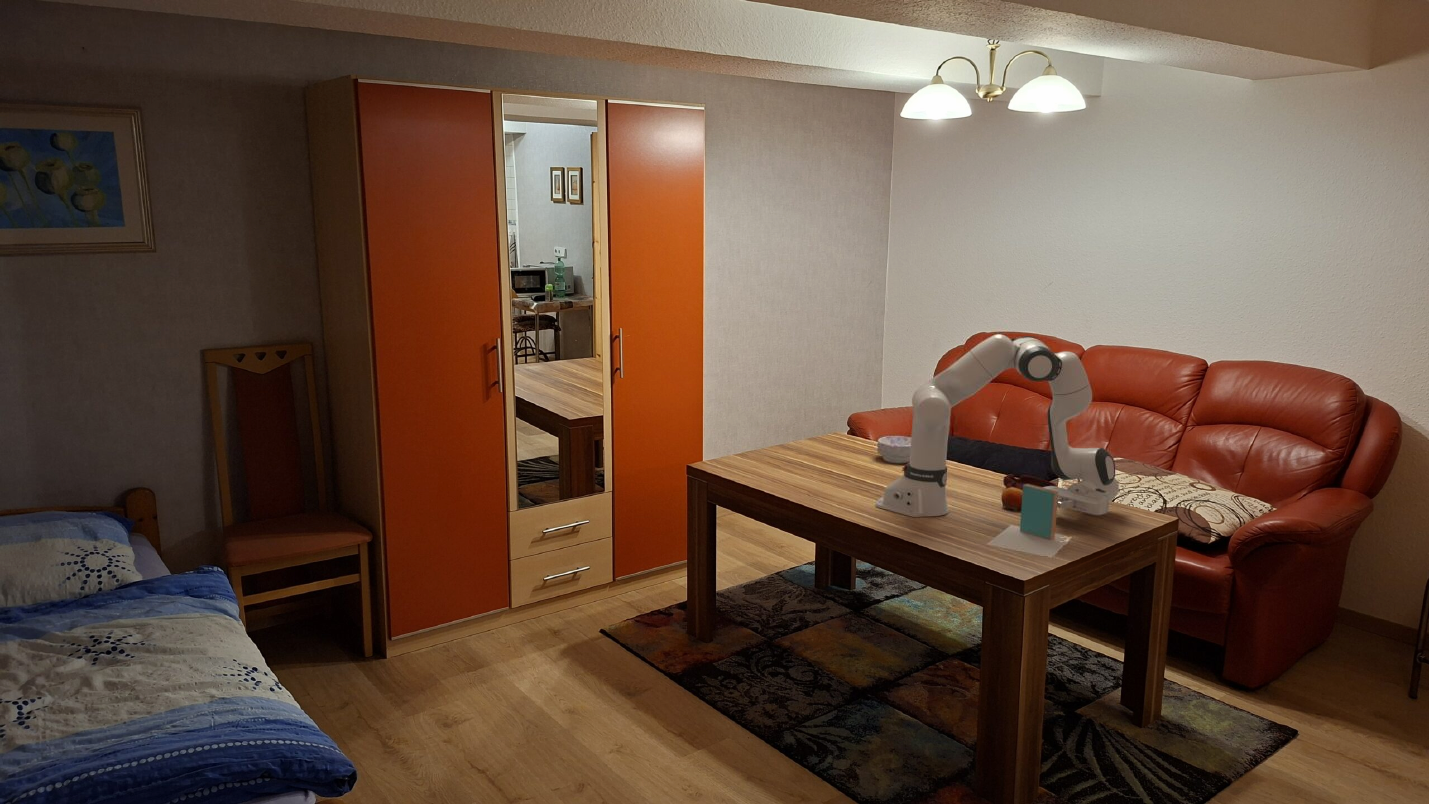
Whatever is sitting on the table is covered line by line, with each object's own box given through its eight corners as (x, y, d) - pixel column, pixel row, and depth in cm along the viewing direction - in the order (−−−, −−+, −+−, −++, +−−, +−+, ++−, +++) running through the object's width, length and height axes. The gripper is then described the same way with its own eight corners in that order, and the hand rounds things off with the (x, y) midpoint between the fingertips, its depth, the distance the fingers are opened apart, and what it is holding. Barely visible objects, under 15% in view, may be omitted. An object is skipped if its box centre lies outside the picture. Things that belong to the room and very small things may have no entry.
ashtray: (1059, 506, 305) (1060, 491, 304) (1006, 502, 309) (1007, 487, 308) (1051, 490, 322) (1053, 476, 321) (1001, 487, 326) (1002, 473, 325)
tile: (1050, 540, 271) (1053, 493, 268) (1019, 531, 279) (1022, 485, 276) (1054, 538, 272) (1058, 491, 270) (1023, 529, 280) (1027, 483, 277)
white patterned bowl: (879, 465, 352) (880, 444, 350) (874, 455, 367) (875, 435, 365) (921, 466, 351) (922, 445, 350) (914, 455, 366) (915, 435, 364)
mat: (986, 545, 268) (986, 544, 268) (1011, 526, 284) (1011, 524, 284) (1051, 559, 257) (1051, 557, 257) (1073, 538, 274) (1073, 536, 274)
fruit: (995, 506, 298) (1001, 482, 300) (1001, 513, 305) (1006, 490, 307) (1021, 511, 294) (1026, 486, 296) (1026, 518, 300) (1032, 494, 302)
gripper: (1051, 478, 296) (1026, 486, 288) (1114, 494, 281) (1090, 502, 272) (1050, 498, 298) (1025, 506, 289) (1112, 514, 282) (1088, 523, 274)
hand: (1057, 504), depth 280 cm, fingers closed
